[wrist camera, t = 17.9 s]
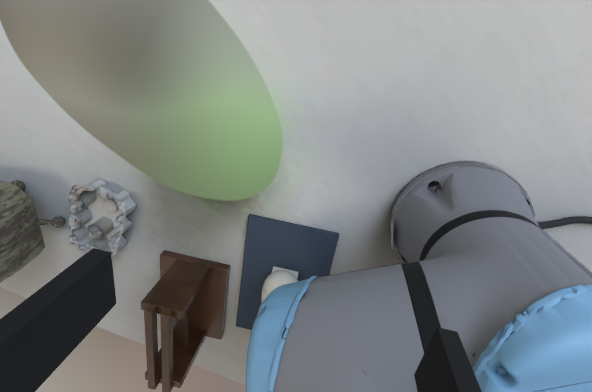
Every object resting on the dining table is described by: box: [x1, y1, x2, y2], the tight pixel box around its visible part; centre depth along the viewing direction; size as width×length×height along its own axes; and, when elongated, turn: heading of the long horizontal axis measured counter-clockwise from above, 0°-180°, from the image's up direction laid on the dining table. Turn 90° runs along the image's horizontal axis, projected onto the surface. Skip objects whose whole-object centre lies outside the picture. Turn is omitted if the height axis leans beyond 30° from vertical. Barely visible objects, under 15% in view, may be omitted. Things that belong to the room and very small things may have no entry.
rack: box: [141, 251, 230, 392], centre depth 44 cm, size 10×14×11 cm
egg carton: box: [69, 179, 136, 258], centre depth 43 cm, size 11×8×4 cm
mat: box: [236, 214, 339, 330], centre depth 46 cm, size 12×20×1 cm, turn 170°
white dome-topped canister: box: [260, 267, 299, 306], centre depth 43 cm, size 5×8×5 cm, turn 170°
